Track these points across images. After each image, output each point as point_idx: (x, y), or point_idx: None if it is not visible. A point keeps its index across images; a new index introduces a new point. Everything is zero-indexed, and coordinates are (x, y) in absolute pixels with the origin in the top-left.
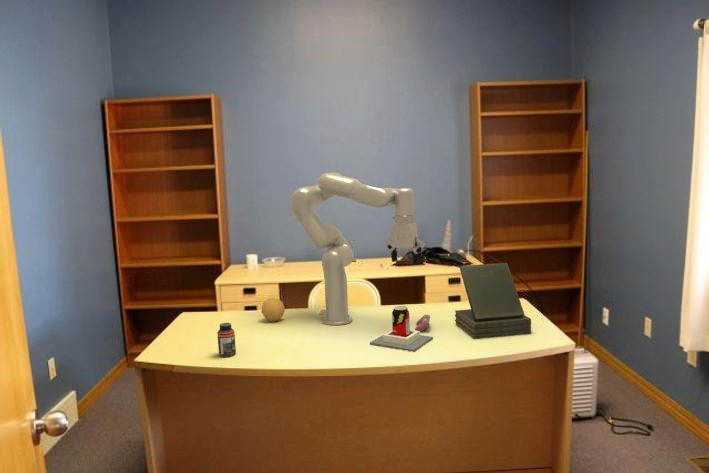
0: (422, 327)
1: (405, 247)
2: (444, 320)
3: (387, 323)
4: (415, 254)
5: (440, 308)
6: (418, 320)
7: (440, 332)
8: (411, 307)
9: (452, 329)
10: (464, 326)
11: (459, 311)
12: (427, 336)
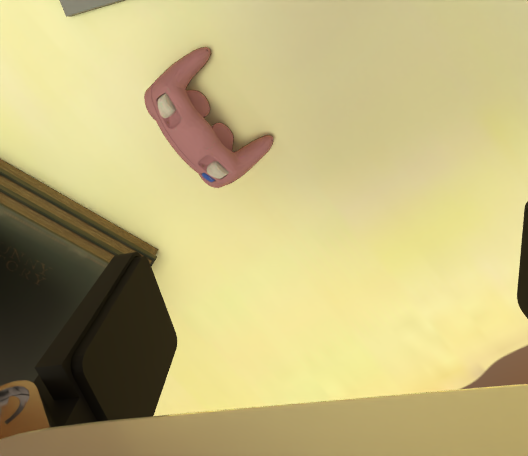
0: (169, 67)
1: (152, 443)
2: (231, 268)
3: (420, 75)
4: (58, 386)
5: (349, 379)
6: (260, 146)
7: (123, 124)
8: (465, 336)
9: (119, 190)
10: (55, 205)
11: None
12: (88, 1)
